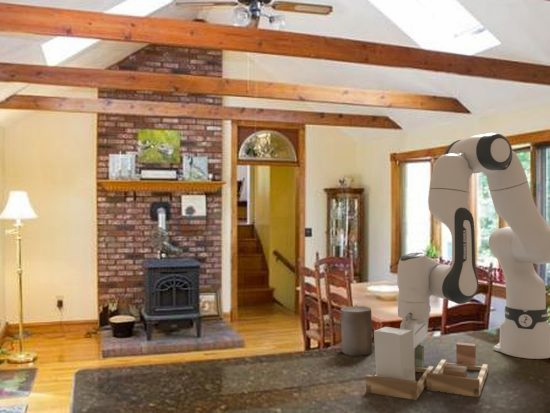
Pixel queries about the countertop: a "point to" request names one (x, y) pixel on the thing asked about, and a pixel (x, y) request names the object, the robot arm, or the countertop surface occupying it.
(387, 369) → the skincare box
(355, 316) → the pillar candle
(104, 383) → the countertop surface
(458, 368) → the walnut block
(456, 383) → the frame
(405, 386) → the frame
